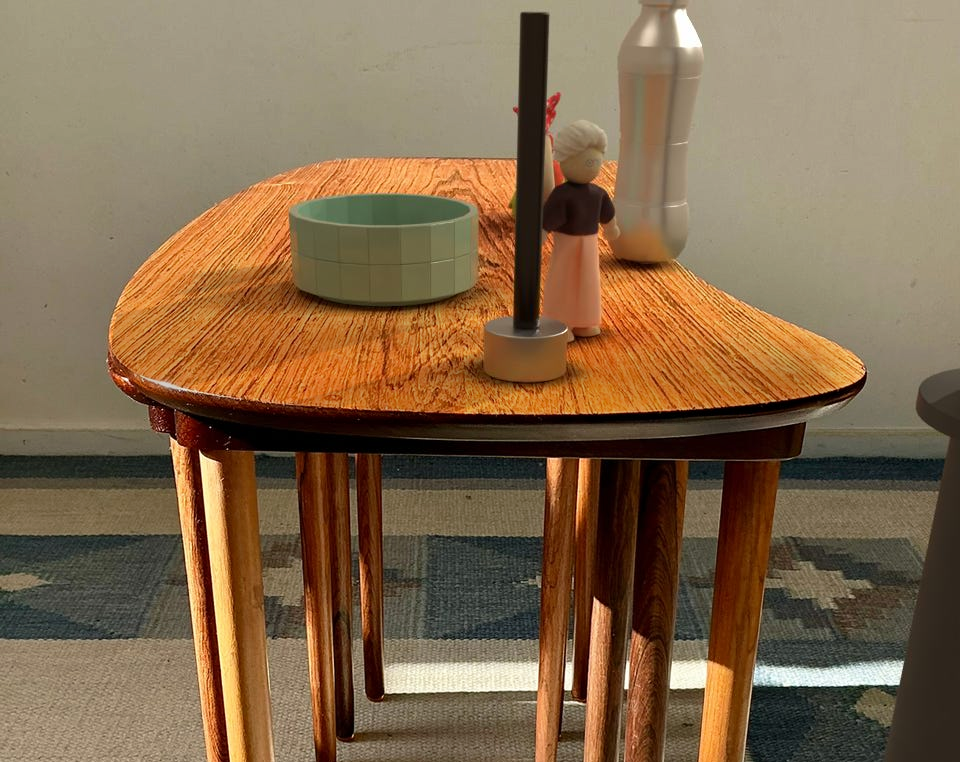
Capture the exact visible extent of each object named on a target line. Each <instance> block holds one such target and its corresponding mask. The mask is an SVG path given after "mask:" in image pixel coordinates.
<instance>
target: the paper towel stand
mask: <svg viewBox="0 0 960 762" xmlns="http://www.w3.org/2000/svg"><path fill="white" fill-rule="evenodd" d="M550 16H551V15H550V12H549V11H521V12H520V13H519V44H518V45H519V49H518V50H519V51H518V85H517V86H518V89H517V90H518V91H517V92H518V93H517V99H518V100H517V107H518V116H517V133H516V135H517V136H516V171H515V172H516V176H515V177H516V179H515V180H516V181H515V191H516V214H515V217H514V218H515V219H514V220H515V222H514V257H513V258H514V259H513V260H514V261H513V262H514V263H513V265H514V266H513V300H512V301H513V302H512V303H513V305H512V307H513V309H512V315H507V316H501V317H497V318H496V317H495V318H493V319H491V320H489V321H486V323H485V324H484V325H483V372H484V373H485V374H486V375H487V376H489V377H491V378H494V379H497V380H501V381H506V382H511V383H512V382H513V383H541V382H548V381H552V380H556V379H558V378H561V377H563V376H565V374H566V372H567V361H568V360H567V358H568V342H567V339H568V327H567V325H566V324H565V323H563V322H561V321H558V320H556V319H552V318H547V317H542V316H541V315H540V313H541V309H540V308H541V285H542V283H541V281H542V257H543V255H542V253H543V252H542V251H543V245H542V226H543V196H544V166H545V137H546V107H547V100H548V77H549V76H548V75H549V74H548V71H549V45H550V43H549V42H550V18H551V17H550Z"/></svg>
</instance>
